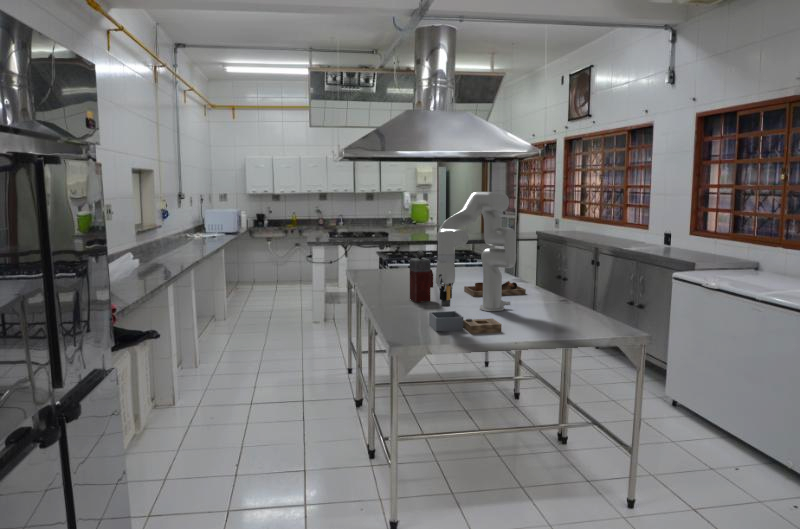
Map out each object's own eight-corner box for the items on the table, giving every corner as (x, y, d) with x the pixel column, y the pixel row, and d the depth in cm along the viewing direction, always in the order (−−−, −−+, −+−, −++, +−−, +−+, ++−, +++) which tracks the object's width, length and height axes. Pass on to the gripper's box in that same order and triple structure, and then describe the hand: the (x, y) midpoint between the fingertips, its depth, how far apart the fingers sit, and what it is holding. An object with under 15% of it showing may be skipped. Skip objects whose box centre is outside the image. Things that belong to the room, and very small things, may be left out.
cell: (448, 304, 255) (449, 283, 254) (451, 306, 251) (451, 284, 250) (440, 305, 255) (440, 283, 253) (442, 307, 251) (442, 285, 249)
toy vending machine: (434, 301, 313) (434, 250, 310) (415, 302, 309) (415, 251, 306) (427, 298, 322) (427, 249, 318) (409, 299, 318) (409, 250, 314)
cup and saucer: (489, 291, 340) (490, 281, 339) (492, 295, 328) (492, 285, 327) (469, 292, 340) (470, 281, 340) (472, 295, 329) (472, 285, 328)
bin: (455, 323, 262) (455, 311, 261) (463, 330, 250) (463, 317, 249) (429, 325, 259) (429, 312, 259) (436, 331, 247) (436, 318, 247)
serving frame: (514, 289, 347) (514, 284, 347) (525, 294, 331) (525, 289, 330) (464, 291, 341) (464, 286, 341) (473, 296, 325) (473, 291, 324)
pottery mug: (509, 296, 328) (503, 283, 329) (500, 301, 336) (493, 288, 337) (523, 289, 334) (516, 276, 335) (513, 293, 342) (507, 281, 343)
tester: (492, 326, 257) (492, 317, 257) (501, 332, 247) (501, 322, 246) (462, 327, 255) (463, 318, 254) (470, 333, 244) (470, 324, 243)
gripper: (448, 256, 259) (447, 295, 262) (429, 259, 245) (428, 301, 248) (462, 257, 255) (462, 297, 257) (444, 260, 241) (443, 303, 244)
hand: (445, 298), depth 253 cm, fingers closed on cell, 4 cm apart
